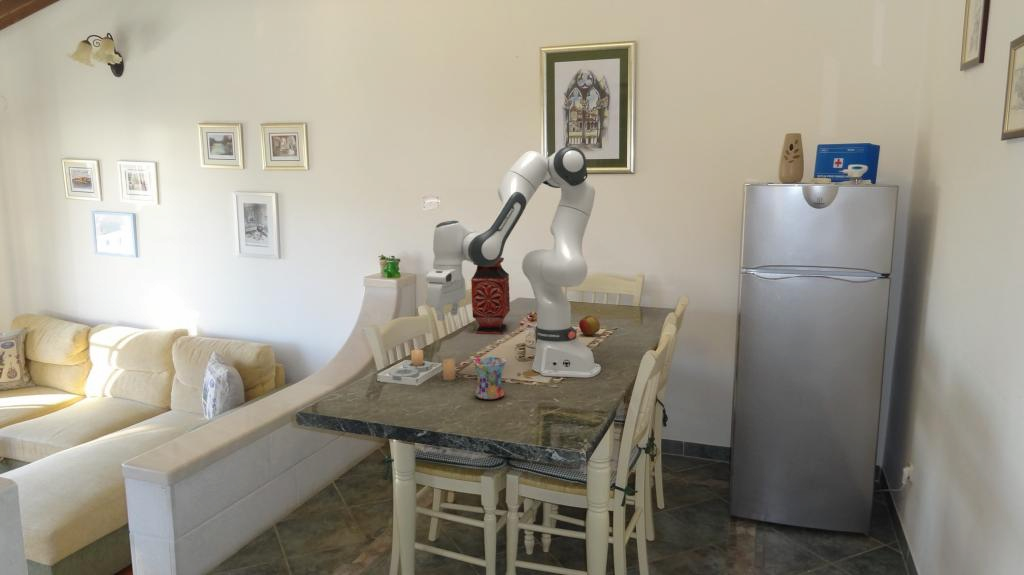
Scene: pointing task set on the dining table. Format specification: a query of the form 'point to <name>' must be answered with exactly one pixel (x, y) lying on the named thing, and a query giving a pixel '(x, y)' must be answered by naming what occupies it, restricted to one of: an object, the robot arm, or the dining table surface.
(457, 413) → the dining table surface
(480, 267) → the vase
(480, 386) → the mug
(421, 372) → the white candle tray
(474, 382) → the dining table surface
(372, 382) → the dining table surface
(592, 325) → the apple
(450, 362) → the orange pillar candle
